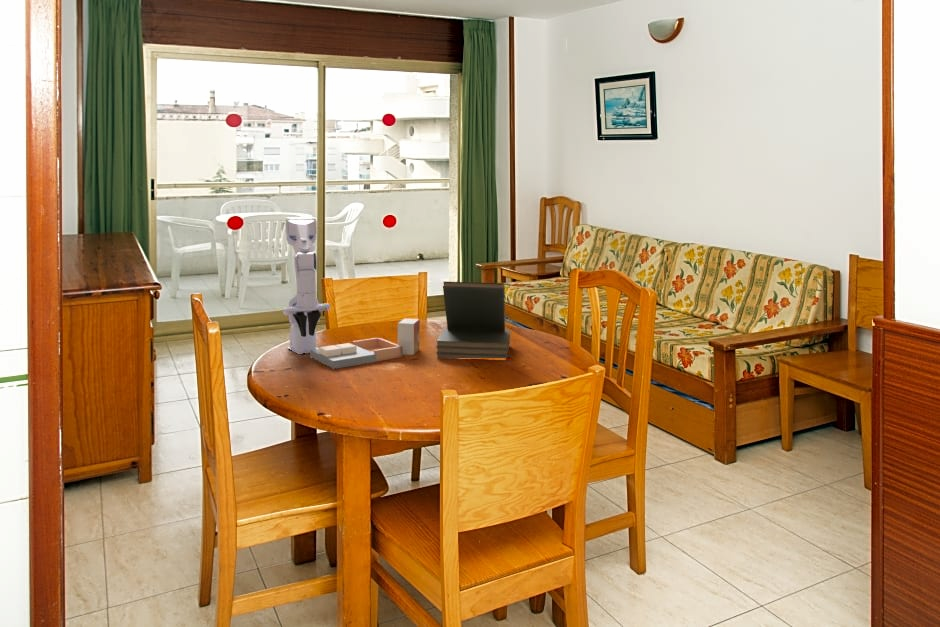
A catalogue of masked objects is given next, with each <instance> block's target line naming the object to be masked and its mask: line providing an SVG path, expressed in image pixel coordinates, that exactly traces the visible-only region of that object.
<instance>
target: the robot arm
mask: <svg viewBox="0 0 940 627" xmlns="http://www.w3.org/2000/svg"><path fill="white" fill-rule="evenodd" d="M317 226H318V225H317V218H316V217H315V216H311V217H309V216H307V217H305V216H304V217H303V216H302V217H301V216H300V217H297V216H296V217H292V216H291V217H289V216H286V218H285V236H286V241H287V244H288V245H291V246H292V247H293V251H294V255H293V256H294V257H293V261H294V264H293V265H294V272H295V282H296V294H295V295H294V296H293V297H291V298H290V299H289V301H288V307H283V308H282V313H283V316H284V315H285V316H288V319H289V320H288V321H289V323H290V324H291V325H290V327H289V346H288V347H287V350H289V349H290V350H289V351H291V350H292V351H291V352H293V353H296V354H298V355H304V354H303V353H305V354H310V350H314V349H319V347H317V324H318V323H319V322H320V320H321V316H322V313H321V312H322V311H331V304H330V303H327V302H325V303H320V302H319V300H318V298H317V282H316V280H317V279H316V276H317V275H316V271H317V270H318V258H317V257H318V256H317V253H316V251H315V250H314V244H316V241H317V240H316V239H317V232H318V230H317V229H318V227H317Z"/></svg>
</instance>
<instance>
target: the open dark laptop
mask: <svg viewBox="0 0 940 627" xmlns="http://www.w3.org/2000/svg"><path fill="white" fill-rule="evenodd" d="M442 290H443V291H442V292H443V299H444V309H445V316H446V317H445V320H446V327H443V328H442V330H441V332H440V333H439V335H438V337H437V339H436V343H437V345H436V346H435V347H436V354H435V355H436V356H437V357H436V359H439V358H507V359H508V355H509V350H510V349H509V348H510V347H509V344H511V330H510V329H506V304H505V303H506V299H505V298H506V296H505V294H506V293H505V292H506V291H505V283H503V282H475V281H474V282H473V281H472V282H471V281H470V282H469V281H443V285H442Z"/></svg>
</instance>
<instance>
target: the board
mask: <svg viewBox="0 0 940 627" xmlns="http://www.w3.org/2000/svg"><path fill="white" fill-rule="evenodd" d="M355 346H356V345H355ZM356 348H357V352H355V353H348V354H341V355H335V356H329V357H326V356H324V355H321V354H319V349H314V350H310V353H309V358H310V357H312V358H314V359H315V360H314V359H313V360H314V361H316V360H318V361H319V362H318V361H317V362H318V363H320V362H321V363H320V364H322V363H323V365H324V364H325V365H324V366H326V365H327V367H328V366H329V367H328V368H330V367H331V369H333V370H336V369H341V368H346V367H353V366H359V365H365V363H366V364H371V363H377V361H376V354H375V353H372V352H370V351H368V350H365V349H363V348H360V347H358V346H356ZM312 358H311V359H312ZM335 368H336V369H335Z"/></svg>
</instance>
